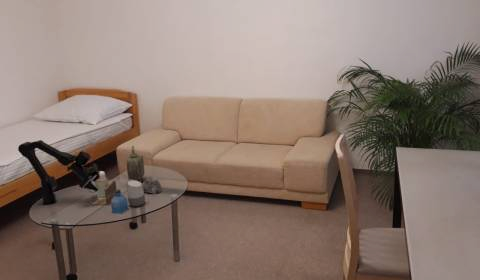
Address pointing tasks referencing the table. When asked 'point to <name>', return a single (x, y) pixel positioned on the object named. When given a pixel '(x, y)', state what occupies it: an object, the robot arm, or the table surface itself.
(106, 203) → the cleat board
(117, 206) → the perfume bottle
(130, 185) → the smart speaker
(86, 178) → the robot arm
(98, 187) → the cabinet block
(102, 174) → the photo printer
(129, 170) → the green spouted canister
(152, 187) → the mineral rock
